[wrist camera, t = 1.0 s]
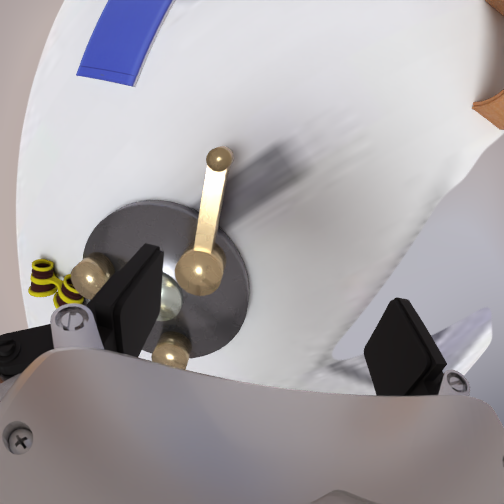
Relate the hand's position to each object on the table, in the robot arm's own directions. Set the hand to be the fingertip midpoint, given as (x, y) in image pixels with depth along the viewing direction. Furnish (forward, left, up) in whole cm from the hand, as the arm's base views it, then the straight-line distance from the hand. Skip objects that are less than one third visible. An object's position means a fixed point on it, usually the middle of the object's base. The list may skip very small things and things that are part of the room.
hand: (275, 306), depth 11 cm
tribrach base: (-14, +10, -19) cm, 26 cm away
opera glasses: (-18, +26, -20) cm, 37 cm away
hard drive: (+15, +19, -20) cm, 32 cm away
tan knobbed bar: (-3, +5, -17) cm, 18 cm away
